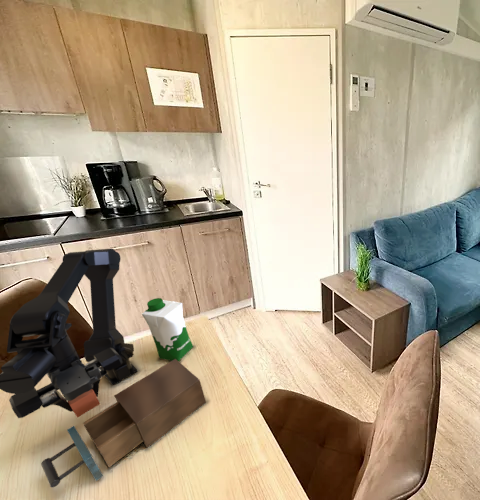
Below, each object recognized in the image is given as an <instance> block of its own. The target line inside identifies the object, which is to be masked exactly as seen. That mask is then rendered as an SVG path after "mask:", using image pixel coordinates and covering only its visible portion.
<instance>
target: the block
mask: <svg viewBox="0 0 480 500" xmlns="http://www.w3.org/2000/svg"><path fill="white" fill-rule="evenodd" d="M67 402H68V403H69V405H70V406H71V408H72V410H73V411H72V412H73V413H74V415H75V417H76V418H79V417H82V416H83V415H85V414H86V413H88V412H89V411H91V410H93V409H95V408H96V407H98V406H100V405H101V402H100V400H99V399H98V397H96V395H95V393H94V391H93V390H92V389H91V390H90V391H88V392H85V393H83V394H81V395H80V396H78V397H76V398H75V399H73V400H71V401H67Z"/></svg>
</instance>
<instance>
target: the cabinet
mask: <svg viewBox="0 0 480 500" xmlns="http://www.w3.org/2000/svg"><path fill="white" fill-rule="evenodd" d="M113 397H114V399H115V401H116V402H119V403H120V405H121V406H122V407H123V408H124V410H125V411H126V412H127V414H128V415H129V416H130V417H131V419H132V420H133V421H134V423H135V424H136V426H137V428H138V430H139V432H140V434H141V437H142V439H143V442H142V443H143V445H144V446H145V447H146V448H149V447H150V446H152V445H153V444H154V443H156V442H157V441H158V440H159V439H161V438H162V437H164V436H165V435H166V434H168V433H169V432H170V431H171V430H173V429H174V428H175V427H176V426H178V424H180V423H182V422H183V421H184V420H185V419H187V418H188V417H189V416H190V415H192V414H193V413H194V412H196V411H197V410H199V408H201V407H202V406H204V405H205V404H206V403H207V400H206V397H205V394H204V389H203V386H202V383H201V379H200V378H199V377H197V376H196V375H195V374H193V373H192V371H190V370H189V369H188V368H187V367H185V366H184V365H183V364H182V363H181V362H180V361H179V362H178V361H177V360H176V359H174V360H172V361H169V362H167V363H166V364H164V365H162V366H161V367H158V369H156V370H154V371H152V372H151V373H149V374H147V375H146V376H145V377H143V378H141V379H140V380H138V381H136V382H134V383H133V384H131V385H130V386H127V387H126V388H124V389H123V390H121V391H120V392H117V393H116V394H114V396H113Z"/></svg>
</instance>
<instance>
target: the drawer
mask: <svg viewBox="0 0 480 500" xmlns="http://www.w3.org/2000/svg"><path fill="white" fill-rule="evenodd" d="M82 424H83V426H84V428H85V430H86V432H87V434H88V435H89V437H90V438H91V440H92V441H93V444H94V445H95V447H96V448H97V451H98V452H99V453H100V455H101V457H102V459H103V460H104V462H105V464H106V465H107V467H108V468H110V467H112V466H113V465H115V464H116V463H117V462H118V461H120V460H121V459H122V458H123V457H125V456H126V455H127V454H129V453H130V452H132V451H133V450H134V449H135V448H137V447H138V446H140V444H142V443H143V439H142V437H141V434H140V432H139V430H138V428H137V426H136V424H135V423H134V421H133V420H132V419H131V417H130V416H129V415H128V414H127V412H126V411H125V410H124V408H123V407H122V406H121V405H120V403H119V402H117V401H116V402H114V403H113V404H112V405H109V406H108V407H107V408H105V409H103V410H102V411H100V412H98V413H97V414H95V415H93V416H92V417H90V418H89V419H87V420H86V421H83V423H82ZM66 431H67V433H68V434H69V436H70V439H71V440H72V442H73V443H71V444H70V445H69V446H67V447H65V448H64V449H62V450H60V451H59V452H57V453H56V454H55V455H53V456H51V457H47V458H44V459H43V460H42V461H41V463H40V465H41V467H42V471H43V473H44V475H45V477H46V480H47V482H48V484H49V487H50V488H56V487H57V486H59V484H60V483H61V481H62V480H64V479H65V478H66V477H67V476H69V475H70V474H71V473H73V472H74V471H76V470H77V469H79V468H80V467H82V466H83V465H84V464H85V465H86V467H87V469H88V471H89V472H90V473H91V475H92V477H93V478H94V480H95V481H96V482H98V481H99V480H100V479H101V478H103V477H104V474H103V473H102V471H101V469H100V468H99V465H98V464H97V462H96V461H95V459H94V456H93V455H92V453H91V452H90V450H89V448H88V447H87V445H86V443H85V442H84V440H83V438H82V436H81V435H80V433H79V431H78V430H77V428H76V426H75V425H72V426H70V427H68V428H67V429H66ZM75 447H76V449H77V452H78V453H79V455H80V456H81V458H82V460H81V461H79V462H78V463H76V464H75V465H73V466H72V467H71V468H69V469H68V470H66V471H65V472H63V473H62V474H60V475H59V474H58V472H57V470H56V466H55V465H54V463H53V462H54V461H55V460H57V459H59V458H60V457H61V456H63V455H65V454H66V453H68V452H69V451H70V450H72V449H74V448H75Z"/></svg>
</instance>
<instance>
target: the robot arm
mask: <svg viewBox="0 0 480 500" xmlns="http://www.w3.org/2000/svg"><path fill="white" fill-rule="evenodd" d="M121 258H122V257H121V255H120V253H119V252H118V251H116V250H115V249H114V248H100V249H99V248H97V249H88V250H87V249H86V250H85V251H72V252H71V251H70V252H67V253H64V255H63V256H62V262H61V263H60V265H59V266H58V267H57V268H56V271H55V272H54V274H53V275H52V276H51V278H50V279H49V281H48V282H47V284H46V285H45V286H44V288H43V289H42V291H41V292H40V293H39V294H38V295H37V296H35V297H34V298H32V299H31V300H29V301H27V302H26V303H24V304H23V305H22V306H21V307H20V308H19V309H18V310H17V311H16V312H14V314H13V315H12V317H11V319H10V321H9V329H8V338H7V345H6V353H8V354H10V353H17V354H16V355H15V356H14V357H12V358H11V359H10V360H8V361H7V362H5V363H4V364H3V365H2V366H1V368H0V370H1V371H2V372H1V373H0V390H1V391H2V392H4V393H8V394H12V395H11V396H10V397H9V399H8V401H9V404H10V406H11V409H12V411H13V412H14V414H15V416H16V417H17V418H18V419H22V418H25V417H26V416H28V415H30V414H32V413H34V412H36V411H38V410H40V409H41V407H42V408H48V407H50V406H57V407H59V408H62V409H63V410H66V411H68V412H71V413H72V412H73V410H72V408H71V406H70V405H69V403H68V401H71V400H73V399H75V398H76V397H78V396H80V395H81V394H83V393H85V392H88V391H90V390H91V389H92V390H93V391H94V393H95V395H96V397H97V398H98V397H99V391H100V390H99V389H100V382H101V379H102V378H103V377H105V379H107V381H108V382H109V384H110V385H111V386H115V385H116V384H118V383H120V382H121V381H123V380H125V379H127V378H128V377H130V376H132V375H134V374H136V373H137V372H138V368H136V366H134V364H133V363H132V362H131V361H130V358H132V357H134V352H135V347H134V344H133V343H127V342H126V343H125V337H124V336H123V334H122V333H121V332H120V331H119V330H118V329H117V327H116V326H117V325H116V310H115V309H116V307H115V292H114V279H115V277H116V275H117V274H118V272H119V271H120V263H121V260H122V259H121ZM84 276H85V277H86V278H87V280H88V281H89V284H90V285H89V286H90V287H89V288H90V301H91V318H92V319H91V320H92V321H91V322H92V334H91V335H90V336H89V339H88V340H84V342H83V350H84V353H83V357H84V359H85V361H86V363H85V364H84V363H83V362H82V360H81V358H80V355H79V354H78V352H77V350H76V348H75V346H74V344H73V342H72V340H71V338H70V336H69V333H68V332H67V331H68V330H69V329H70V328H71V327H72V324H73V323H71V322H70V323H69V322H67V320H68V318H69V315H70V313H71V312H70V308H69V305H68V304H69V302H70V300H71V298H72V296H73V294H74V293H75V291H76V289H77V288H78V286H79V284H80V282H82V279H83V278H84ZM33 336H34V337H35V336H37V337H35V338H31V339H23V338H25V337H27V338H28V337H33ZM46 375H47V377H48V378H49V380H50V383H49V384H47V385H44V386H42V387H41V388H39V389H36V386H37V385H38V384H39V383H40V382H41V381H42V380H43V379H44V377H45V376H46Z"/></svg>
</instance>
